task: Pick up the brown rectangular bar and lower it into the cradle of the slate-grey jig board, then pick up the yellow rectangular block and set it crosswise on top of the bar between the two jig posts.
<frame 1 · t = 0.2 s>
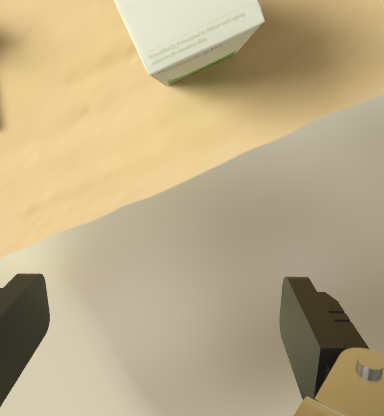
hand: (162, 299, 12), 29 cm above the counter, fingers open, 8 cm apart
skincare box: (189, 37, 37), on the counter
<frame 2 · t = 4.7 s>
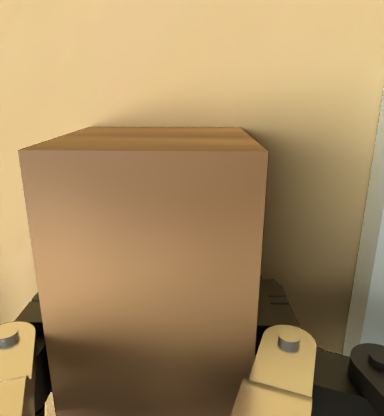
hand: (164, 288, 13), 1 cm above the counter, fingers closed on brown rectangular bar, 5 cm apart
brown rectangular bar: (168, 332, 14), on the counter, touching gripper
when the fingers open (4 cm above the counter, at t = 10.3 s): brown rectangular bar drops 1 cm, resting on jig.
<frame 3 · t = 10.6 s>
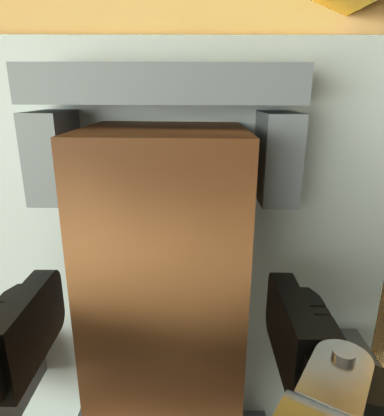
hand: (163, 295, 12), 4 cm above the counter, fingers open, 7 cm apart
brown rectangular bar: (172, 309, 16), point 1 cm above the counter, touching jig
jig: (172, 296, 17), on the counter
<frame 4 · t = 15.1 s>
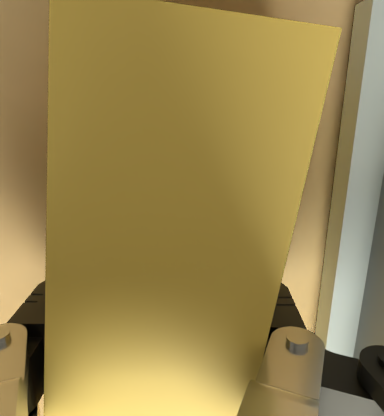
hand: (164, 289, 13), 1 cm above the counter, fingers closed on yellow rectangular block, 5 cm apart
yellow rectangular block: (168, 271, 14), on the counter, touching gripper
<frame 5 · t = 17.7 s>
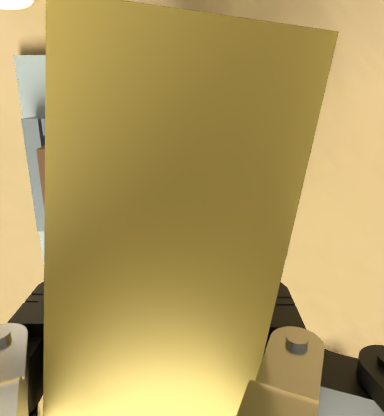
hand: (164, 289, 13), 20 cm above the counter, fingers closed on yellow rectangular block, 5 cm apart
brown rectangular bar: (160, 169, 30), point 1 cm above the counter, touching jig
jig: (162, 167, 32), on the counter
yellow rectangular block: (167, 273, 14), point 19 cm above the counter, touching gripper
when the fingers open (8 cm above the counter, at t = 20.4 s): yellow rectangular block stays where it is, resting on brown rectangular bar.
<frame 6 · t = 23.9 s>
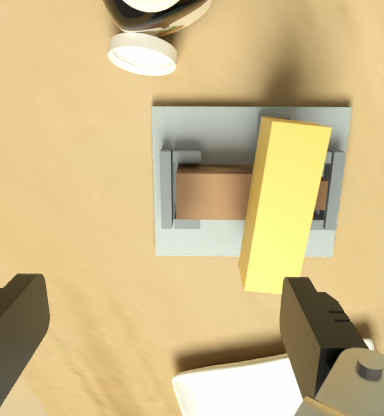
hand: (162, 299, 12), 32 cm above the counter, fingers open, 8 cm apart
brown rectangular bar: (246, 185, 43), point 1 cm above the counter, touching jig, yellow rectangular block
square plate: (280, 413, 55), on the counter
spread jar: (159, 18, 39), on the counter
jig: (246, 183, 44), on the counter
yellow rectangular block: (272, 197, 38), point 6 cm above the counter, touching brown rectangular bar
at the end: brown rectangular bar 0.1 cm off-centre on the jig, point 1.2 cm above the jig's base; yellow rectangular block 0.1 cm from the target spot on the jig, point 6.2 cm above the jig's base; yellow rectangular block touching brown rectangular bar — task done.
